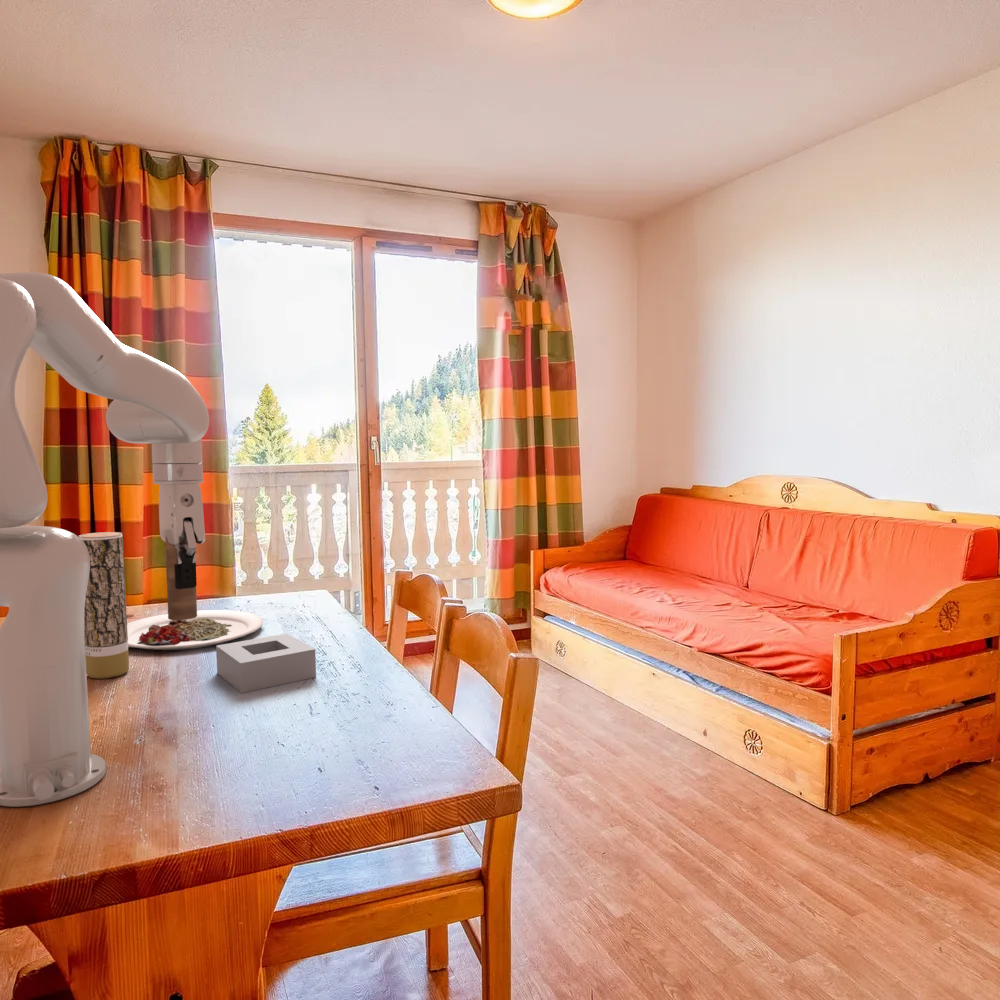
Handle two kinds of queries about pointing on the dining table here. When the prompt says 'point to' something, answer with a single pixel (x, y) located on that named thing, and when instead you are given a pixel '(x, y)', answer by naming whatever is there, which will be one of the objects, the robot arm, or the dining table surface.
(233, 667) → the socket
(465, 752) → the dining table surface
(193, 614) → the peg
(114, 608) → the paper tube
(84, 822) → the dining table surface
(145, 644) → the plated food
